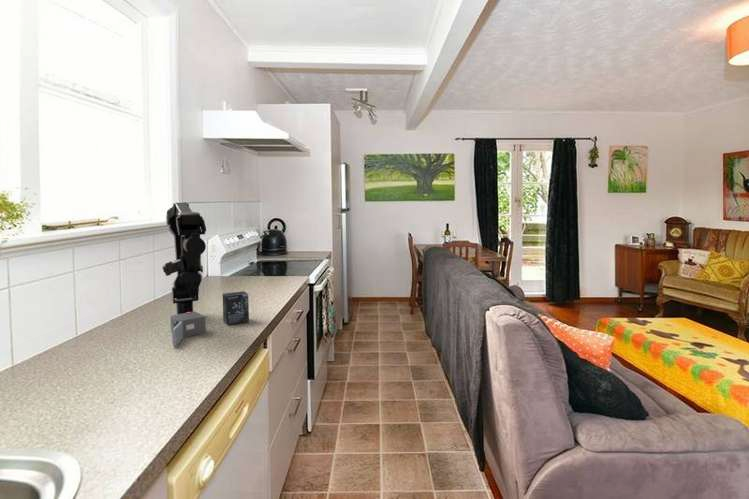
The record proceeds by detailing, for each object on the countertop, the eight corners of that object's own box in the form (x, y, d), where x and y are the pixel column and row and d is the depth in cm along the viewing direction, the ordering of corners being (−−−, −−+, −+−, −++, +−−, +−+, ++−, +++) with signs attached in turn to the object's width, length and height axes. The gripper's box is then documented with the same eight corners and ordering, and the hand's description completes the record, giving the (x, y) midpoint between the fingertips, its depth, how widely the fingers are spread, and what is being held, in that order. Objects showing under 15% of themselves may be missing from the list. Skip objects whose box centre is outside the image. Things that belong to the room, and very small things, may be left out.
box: (227, 325, 150) (226, 296, 149) (223, 322, 155) (221, 293, 154) (249, 322, 154) (248, 293, 153) (244, 318, 159) (243, 290, 158)
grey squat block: (167, 332, 142) (166, 315, 141) (195, 326, 149) (194, 310, 148) (176, 338, 136) (175, 320, 135) (206, 332, 142) (205, 315, 141)
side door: (183, 337, 136) (182, 321, 136) (175, 346, 128) (175, 329, 127) (180, 337, 136) (179, 321, 136) (172, 346, 128) (171, 329, 127)
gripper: (166, 248, 145) (169, 293, 148) (159, 256, 128) (162, 307, 130) (202, 247, 149) (203, 291, 151) (200, 255, 132) (202, 304, 134)
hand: (193, 298), depth 142 cm, fingers closed
